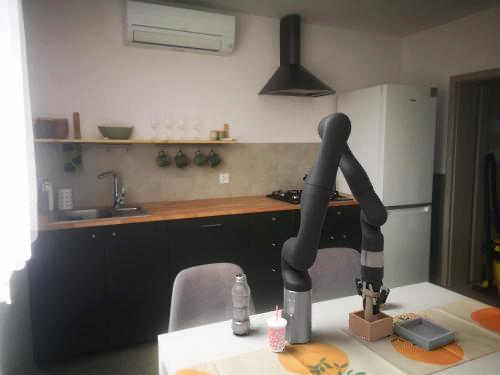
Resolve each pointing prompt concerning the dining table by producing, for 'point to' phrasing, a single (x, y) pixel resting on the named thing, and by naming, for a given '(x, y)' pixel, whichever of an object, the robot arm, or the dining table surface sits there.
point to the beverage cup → (276, 332)
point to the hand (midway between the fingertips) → (370, 311)
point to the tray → (424, 333)
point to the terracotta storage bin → (370, 325)
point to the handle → (370, 305)
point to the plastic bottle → (240, 305)
